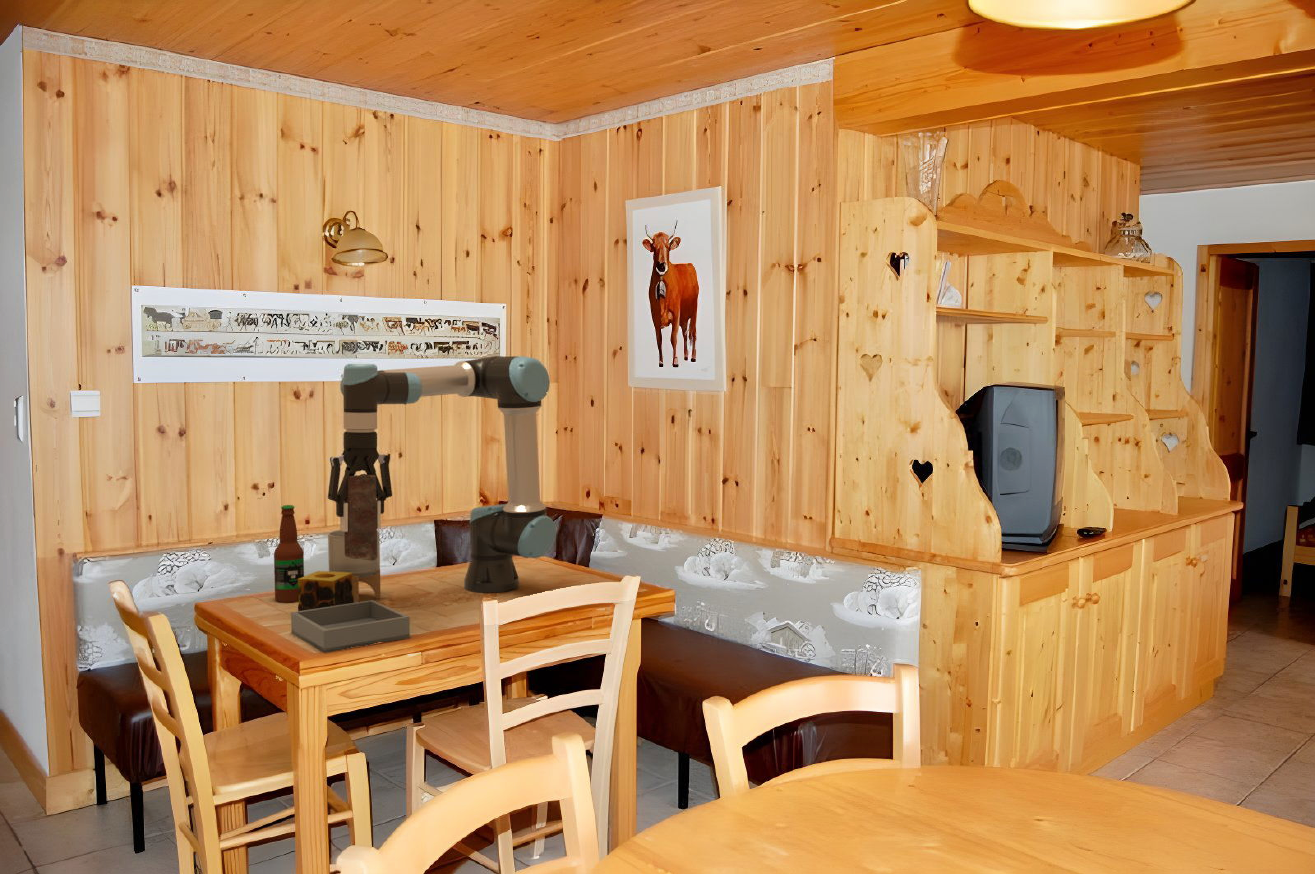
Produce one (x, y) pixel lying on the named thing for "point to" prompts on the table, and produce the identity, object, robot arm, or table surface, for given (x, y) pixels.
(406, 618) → the bin
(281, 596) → the bottle
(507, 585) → the robot arm
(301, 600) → the candle
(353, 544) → the candle
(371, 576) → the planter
